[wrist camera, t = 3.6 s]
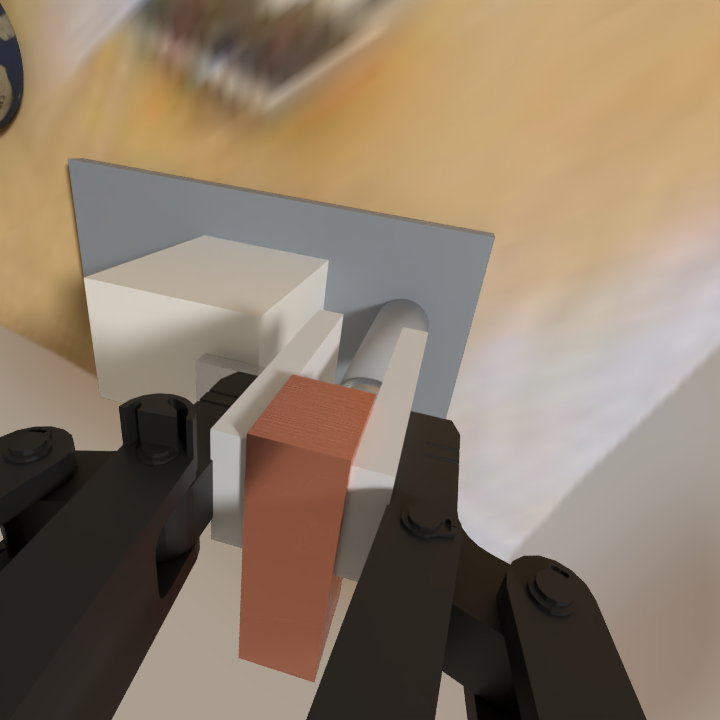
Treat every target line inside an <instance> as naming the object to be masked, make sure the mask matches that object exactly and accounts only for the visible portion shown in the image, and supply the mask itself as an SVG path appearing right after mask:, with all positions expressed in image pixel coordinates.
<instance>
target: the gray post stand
mask: <svg viewBox="0 0 720 720" xmlns="http://www.w3.org/2000/svg"><path fill="white" fill-rule="evenodd" d="M68 164H69V171H70V179H71V186H72V193H73V201H74V208H75V215H76V223H77V230H78V237H79V245H80V252H81V259H82V267H83V274H84V277H87V276H90V275H93V274H95V273H98V272H101V271H104V270H107V269H110V268H113V267H115V266H118V265H121V264H124V263H127V262H130V261H133V260H135V259H138V258H141V257H144V256H147V255H150V254H152V253H155V252H158V251H161V250H164V249H167V248H170V247H172V246H175V245H178V244H181V243H184V242H187V241H190V240H192V239H195V238H198V237H201V236H204V235H205V236H210V237H215V238H220V239H225V240H230V241H235V242H240V243H245V244H250V245H255V246H260V247H265V248H270V249H275V250H280V251H285V252H290V253H295V254H300V255H305V256H310V257H315V258H320V259H325V260H329V262H328V271H327V280H326V289H325V298H324V307H323V310H326V311H331V312H335V313H340V314H343V322H342V329H341V337H340V344H339V352H338V359H337V367H336V374H335V382H334V383H335V384H340V385H343V384H344V383H346V382H348V381H351V380H354V379H358V378H370V379H375V380H379V381H381V382H383V379H384V377H385V374H386V371H387V369H388V366H389V363H390V361H391V358H392V355H393V352H394V350H395V347H396V344H397V342H398V339H399V336H400V334H401V331H402V328H403V327H405V328H410V329H415V330H419V331H424V332H428V336H427V341H426V345H425V349H424V354H423V358H422V363H421V367H420V372H419V376H418V380H417V385H416V389H415V394H414V398H413V403H412V407H411V411H413V412H418V413H422V414H426V415H430V416H434V417H439V418H443V419H446V416H447V412H448V408H449V405H450V401H451V397H452V394H453V390H454V386H455V383H456V379H457V375H458V372H459V368H460V364H461V360H462V357H463V353H464V349H465V346H466V342H467V338H468V335H469V331H470V327H471V324H472V320H473V316H474V313H475V309H476V305H477V301H478V298H479V294H480V290H481V287H482V283H483V279H484V276H485V272H486V268H487V265H488V261H489V257H490V254H491V250H492V246H493V242H494V239H495V236H494V234H493V233H487V232H482V231H477V230H471V229H466V228H460V227H455V226H449V225H444V224H438V223H433V222H427V221H422V220H416V219H411V218H405V217H400V216H395V215H389V214H384V213H378V212H373V211H367V210H362V209H356V208H351V207H345V206H340V205H334V204H329V203H323V202H318V201H313V200H307V199H302V198H296V197H291V196H285V195H280V194H274V193H269V192H263V191H258V190H252V189H247V188H241V187H236V186H231V185H225V184H220V183H214V182H209V181H203V180H198V179H192V178H187V177H181V176H176V175H170V174H165V173H159V172H154V171H149V170H143V169H138V168H132V167H127V166H121V165H116V164H110V163H105V162H99V161H94V160H88V159H83V158H80V159H68Z"/></svg>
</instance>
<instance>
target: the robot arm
mask: <svg viewBox="0 0 720 720" xmlns="http://www.w3.org/2000/svg"><path fill="white" fill-rule="evenodd" d="M342 322H343V314H340V313H335V312H331V311H326V310H321V309H319V310H318V311H317V312H316V313H315V314H314V315H313V317H312V318H311V319H310V320H309V321H308V322H307V323H306V324H305V325H304V326H303V328H302V329H301V330H300V331H299V332H298V333H297V334H296V335H295V336H294V338H293V339H292V340H291V341H290V342H289V343H288V344H287V345H286V346H285V347H284V349H283V350H282V351H281V352H280V353H279V354H278V355H277V356H276V357H275V358H274V360H273V361H272V362H271V363H270V364H269V365H268V366H267V367H266V368H265V369H264V371H263V372H262V373H261V374H260V375H259V376H256V375H252V374H248V373H243V372H239V371H238V372H236V373H233V374H231V375H229V376H226V377H224V378H222V379H220V380H219V381H218V382H217V383H216V384H215V385H214V386H213V387H212V388H211V389H210V390H209V392H206V393H205V394H204V395H203V396H202V397H201V398H200V401H197V402H196V403H195V404H193V403H191V402H190V401H189V400H188V399H186V398H184V397H181V396H178V395H175V394H165V393H156V394H148V395H142V396H139V397H136V398H133V399H130V400H128V401H127V402H125V403H124V404H122V405H120V406H119V412H120V421H121V430H122V439H123V446H122V447H121V448H119V450H118V451H76V450H75V446H74V442H73V438H72V435H71V434H69V433H68V432H67V431H65V430H64V429H60V428H56V427H31V428H26V429H21V430H17V431H14V432H12V433H10V434H7V435H4V436H2V437H0V528H1V532H2V535H3V538H4V539H3V540H2V541H1V542H0V720H111V719H112V718H113V716H114V714H115V712H116V710H117V708H118V706H119V705H120V703H121V701H122V699H123V697H124V695H125V693H126V691H127V689H128V688H129V686H130V684H131V682H132V680H133V678H134V676H135V675H136V673H137V671H138V669H139V667H140V665H141V663H142V661H143V660H144V658H145V656H146V654H147V652H148V650H149V648H150V646H151V644H152V643H153V641H154V639H155V637H156V635H157V633H158V631H159V629H160V628H161V626H162V624H163V622H164V620H165V618H166V616H167V614H168V612H169V611H170V609H171V607H172V605H173V603H174V601H175V599H176V597H177V596H178V594H179V592H180V590H181V588H182V586H183V584H184V582H185V580H186V579H187V577H188V575H189V573H190V571H191V569H192V567H193V566H194V564H195V562H196V560H197V557H198V553H199V550H200V541H199V537H200V535H201V534H202V532H203V531H204V529H205V528H206V526H207V525H208V523H209V522H210V521H211V539H213V540H216V541H220V542H223V543H226V544H230V545H233V546H237V547H240V548H243V522H244V494H245V465H246V437H247V432H248V431H249V430H250V428H251V427H252V426H253V425H254V423H255V422H256V421H257V419H258V418H259V417H260V415H261V414H262V413H263V412H264V410H265V409H266V408H267V406H268V405H269V404H270V403H271V401H272V400H273V399H274V397H275V396H276V395H277V393H278V392H279V391H280V390H281V388H282V387H283V386H284V384H285V383H286V382H287V380H288V379H289V378H290V377H291V375H292V374H293V375H297V376H301V377H306V378H310V379H314V380H318V381H323V382H327V383H331V384H334V382H335V374H336V367H337V359H338V352H339V344H340V337H341V329H342ZM427 336H428V332H424V331H419V330H415V329H410V328H405V327H403V328H402V331H401V334H400V336H399V339H398V342H397V344H396V347H395V350H394V352H393V355H392V358H391V361H390V363H389V366H388V369H387V371H386V374H385V377H384V379H383V382H382V385H381V388H380V390H379V393H378V396H377V398H376V401H375V404H374V407H373V410H372V413H371V415H370V418H369V421H368V423H367V426H366V429H365V432H364V434H363V437H362V440H361V442H360V445H359V448H358V451H357V453H356V456H355V459H354V461H353V464H352V468H351V474H350V480H349V486H348V492H347V498H346V504H345V510H344V515H343V521H342V527H341V533H340V539H339V545H338V551H337V557H336V563H335V569H334V575H336V576H340V577H343V578H347V579H350V580H353V581H357V582H358V583H357V586H356V589H355V592H354V594H353V597H352V599H351V602H350V605H349V607H348V610H347V613H346V615H345V618H344V621H343V623H342V626H341V629H340V631H339V634H338V637H337V639H336V642H335V645H334V647H333V650H332V653H331V655H330V658H329V660H328V663H327V666H326V668H325V671H324V674H323V677H322V679H321V682H320V684H319V687H318V690H317V692H316V695H315V698H314V700H313V703H312V706H311V708H310V711H309V714H308V717H307V719H306V720H435V715H436V707H437V701H438V695H439V688H440V682H441V675H442V671H443V672H444V673H446V674H447V675H449V676H450V677H452V678H453V679H455V680H456V681H457V682H459V683H460V684H462V685H463V686H464V694H465V702H466V711H467V718H468V720H646V717H645V715H644V713H643V710H642V708H641V705H640V703H639V701H638V698H637V696H636V694H635V692H634V689H633V687H632V684H631V682H630V680H629V677H628V675H627V672H626V670H625V668H624V665H623V663H622V661H621V658H620V656H619V654H618V651H617V649H616V647H615V644H614V642H613V639H612V637H611V635H610V632H609V630H608V628H607V625H606V623H605V621H604V618H603V616H602V614H601V611H600V609H599V607H598V604H597V602H596V600H595V598H594V596H593V595H592V593H591V592H590V590H589V588H588V587H587V585H586V584H585V583H584V582H583V581H582V580H581V579H580V578H579V577H578V576H577V575H576V574H575V573H574V572H573V571H572V570H570V569H568V568H567V567H565V566H563V565H562V564H560V563H558V562H557V561H555V560H551V559H548V558H545V557H542V556H523V557H520V558H518V559H516V560H514V561H513V562H512V564H511V565H510V564H508V563H506V562H504V561H503V560H501V559H499V558H497V557H495V556H494V555H492V554H490V553H488V552H487V551H485V550H484V549H482V548H481V547H479V546H478V545H477V544H476V543H475V542H474V541H472V540H471V539H470V538H469V537H468V535H467V534H466V533H465V531H464V530H463V528H462V526H461V523H460V521H459V519H458V513H457V502H458V476H459V465H458V464H459V450H460V434H459V432H458V431H457V429H456V427H455V425H454V424H453V422H452V421H451V420H447V419H443V418H439V417H434V416H430V415H426V414H422V413H418V412H413V411H411V407H412V403H413V398H414V394H415V389H416V385H417V380H418V376H419V372H420V367H421V363H422V358H423V354H424V349H425V345H426V341H427Z"/></svg>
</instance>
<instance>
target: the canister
mask: <svg viewBox="0 0 720 720" xmlns="http://www.w3.org/2000/svg"><path fill="white" fill-rule="evenodd" d="M22 91H23V65H22V58H21V53H20V49H19V45H18V42H17V38H16V35H15V32H14V29H13V27H12V25H11V23H10V20H9V18H8V16H7V14H6V12H5V11H4V9H3V7H2V5H1V4H0V129H1V128H3V127H4V126H5V125H6V124H7V123H8V122H9V121H10V120H11V119H12V117H13V116H14V114H15V112H16V111H17V109H18V106H19V104H20V101H21V97H22Z"/></svg>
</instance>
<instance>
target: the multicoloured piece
mask: <svg viewBox="0 0 720 720" xmlns="http://www.w3.org/2000/svg"><path fill="white" fill-rule="evenodd" d="M265 368H266V367H263V366H259V365H255V364H250V363H246V362H242V361H238V360H233V359H229V358H225V357H221V356H216V355H212V354H208V353H205V354H204V355H203V356H201V357H200V358H199V359H198V360H196V396H197V401H200V398H201V397H202V396H203V395H204V394H205V393H206V392H209V390H210V389H211V388H212V387H213V386H214V385H215V384H216V383H217V382H218V381H219V380H220V379H222V378H224V377H226V376H229V375H231V374H233V373H236V372H238V371H239V372H243V373H248V374H252V375H256V376H259V375H260V374H261V373H262V372H263V371H264V369H265ZM381 385H382V382H381V381H379V380H375V379H370V378H358V379H354V380H351V381H348V382H346V383H344V384H343V385H340V384H335V383H334V384H331V383H327V382H323V381H318V380H314V379H310V378H306V377H301V376H297V375H293V374H292V375H291V377H290V378H289V379H288V380H287V382H286V383H285V384H284V386H283V387H282V388H281V390H280V391H279V392H278V393H277V395H276V396H275V397H274V399H273V400H272V401H271V403H270V404H269V405H268V406H267V408H266V409H265V410H264V412H263V413H262V414H261V415H260V417H259V418H258V419H257V421H256V422H255V423H254V425H253V426H252V427H251V428H250V430H249V431H248V432H247V437H246V465H245V494H244V522H243V551H242V580H241V607H240V609H241V610H240V637H239V658H241V659H244V660H247V661H250V662H253V663H256V664H259V665H262V666H266V667H269V668H272V669H275V670H278V671H281V672H284V673H287V674H290V675H293V676H296V677H299V678H302V679H306V680H309V681H312V682H314V681H315V678H316V674H317V671H318V668H319V664H320V661H321V657H322V654H323V651H324V647H325V644H326V640H327V637H328V633H329V630H330V626H331V623H332V619H333V616H334V613H335V609H336V606H337V602H338V599H339V595H340V590H341V584H342V579H343V577H340V576H336V575H334V569H335V563H336V557H337V551H338V545H339V539H340V533H341V527H342V521H343V515H344V510H345V504H346V498H347V492H348V486H349V480H350V474H351V468H352V464H353V461H354V459H355V456H356V453H357V451H358V448H359V445H360V442H361V440H362V437H363V434H364V432H365V429H366V426H367V423H368V421H369V418H370V415H371V413H372V410H373V407H374V404H375V401H376V398H377V396H378V393H379V390H380V388H381Z"/></svg>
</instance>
